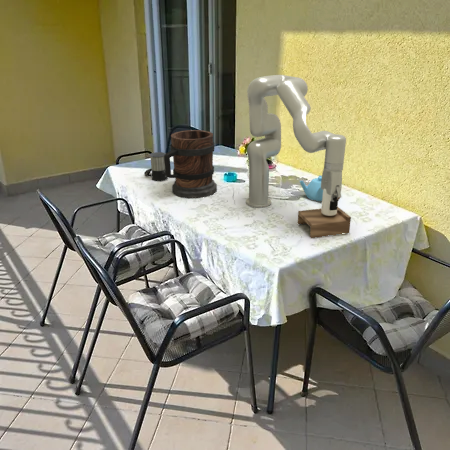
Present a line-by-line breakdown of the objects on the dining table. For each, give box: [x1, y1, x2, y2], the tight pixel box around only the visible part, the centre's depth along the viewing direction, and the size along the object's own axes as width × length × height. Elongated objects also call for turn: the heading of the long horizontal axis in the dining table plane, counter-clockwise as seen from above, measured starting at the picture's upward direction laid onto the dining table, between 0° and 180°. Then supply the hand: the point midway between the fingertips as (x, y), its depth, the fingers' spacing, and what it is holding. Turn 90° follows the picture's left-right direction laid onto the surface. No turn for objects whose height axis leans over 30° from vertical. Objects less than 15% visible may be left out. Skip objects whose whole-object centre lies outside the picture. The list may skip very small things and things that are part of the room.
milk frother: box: [143, 151, 169, 182], centre depth 248 cm, size 14×16×15 cm
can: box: [320, 187, 337, 216], centre depth 180 cm, size 6×6×12 cm
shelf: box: [297, 205, 352, 239], centre depth 183 cm, size 15×17×8 cm
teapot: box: [299, 175, 323, 202], centre depth 216 cm, size 15×15×11 cm
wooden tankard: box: [164, 129, 218, 200], centre depth 222 cm, size 24×30×30 cm
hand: (329, 206), depth 181 cm, fingers closed on can, 6 cm apart
